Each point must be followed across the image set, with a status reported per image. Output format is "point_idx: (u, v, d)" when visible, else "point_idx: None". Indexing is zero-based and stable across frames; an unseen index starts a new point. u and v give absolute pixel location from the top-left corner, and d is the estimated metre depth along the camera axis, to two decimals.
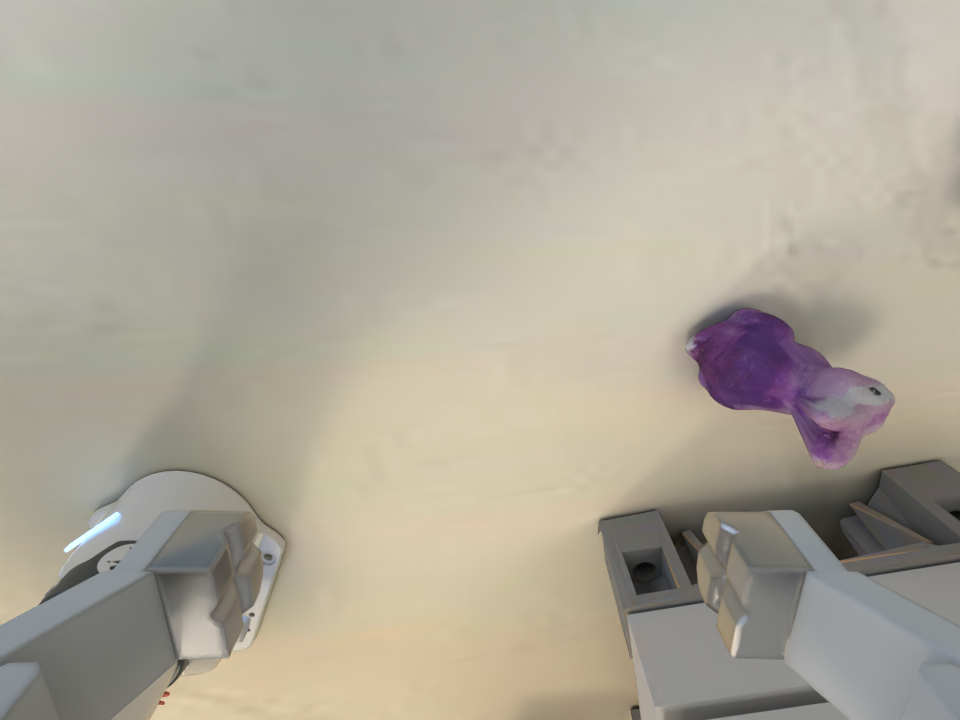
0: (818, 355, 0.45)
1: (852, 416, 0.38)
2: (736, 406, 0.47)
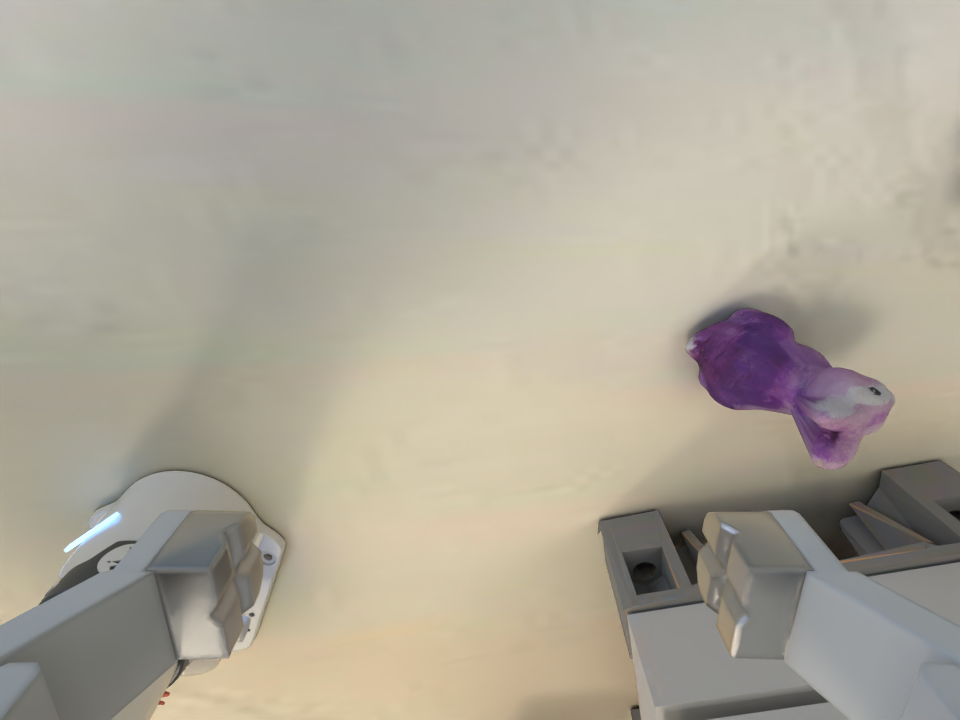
0: (818, 355, 0.45)
1: (852, 416, 0.38)
2: (736, 406, 0.47)
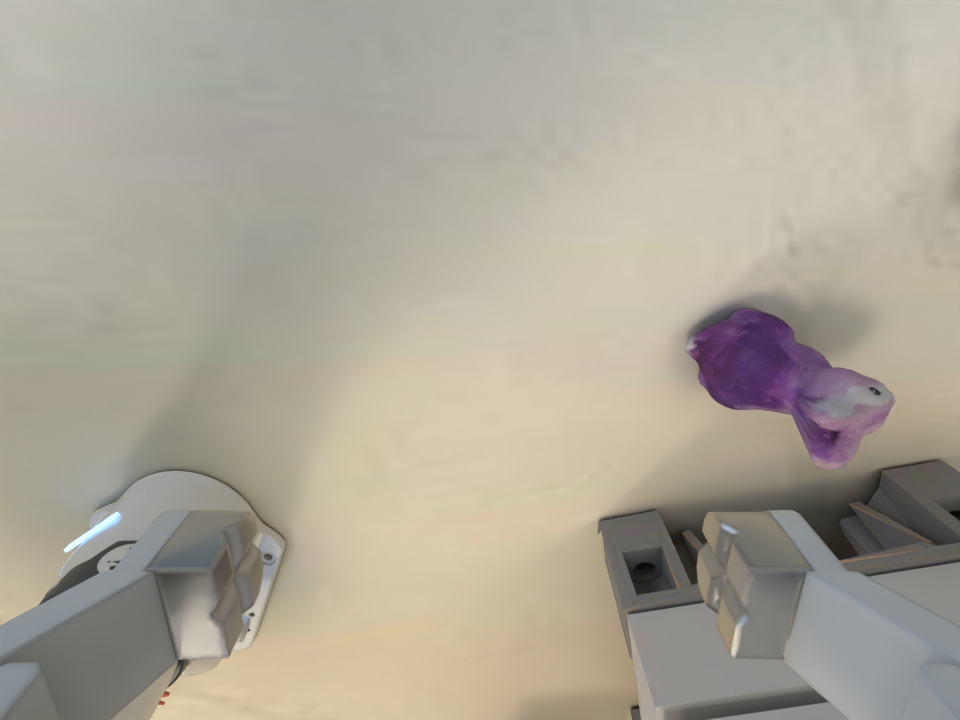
0: (818, 355, 0.45)
1: (852, 416, 0.38)
2: (736, 406, 0.47)
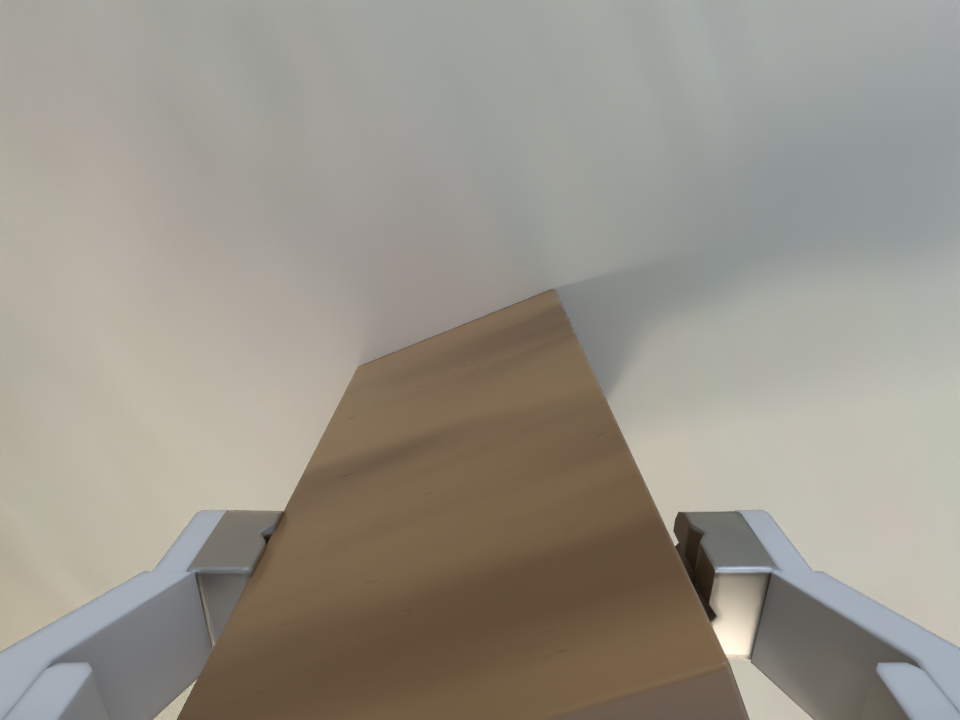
0: None
1: None
2: None
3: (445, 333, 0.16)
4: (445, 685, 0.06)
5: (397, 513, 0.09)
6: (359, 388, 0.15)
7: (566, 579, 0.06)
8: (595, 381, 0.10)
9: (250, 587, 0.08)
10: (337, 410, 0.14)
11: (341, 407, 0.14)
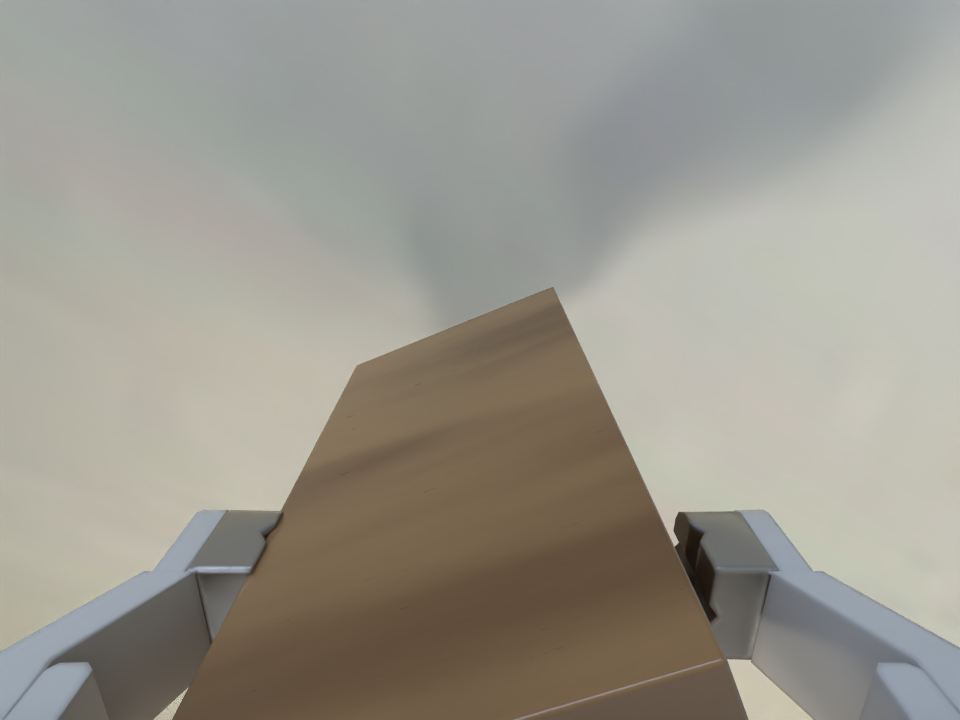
0: None
1: None
2: None
3: (444, 331, 0.16)
4: (443, 682, 0.06)
5: (395, 512, 0.09)
6: (358, 386, 0.15)
7: (563, 576, 0.06)
8: (594, 379, 0.10)
9: (247, 585, 0.08)
10: (336, 408, 0.14)
11: (339, 405, 0.14)
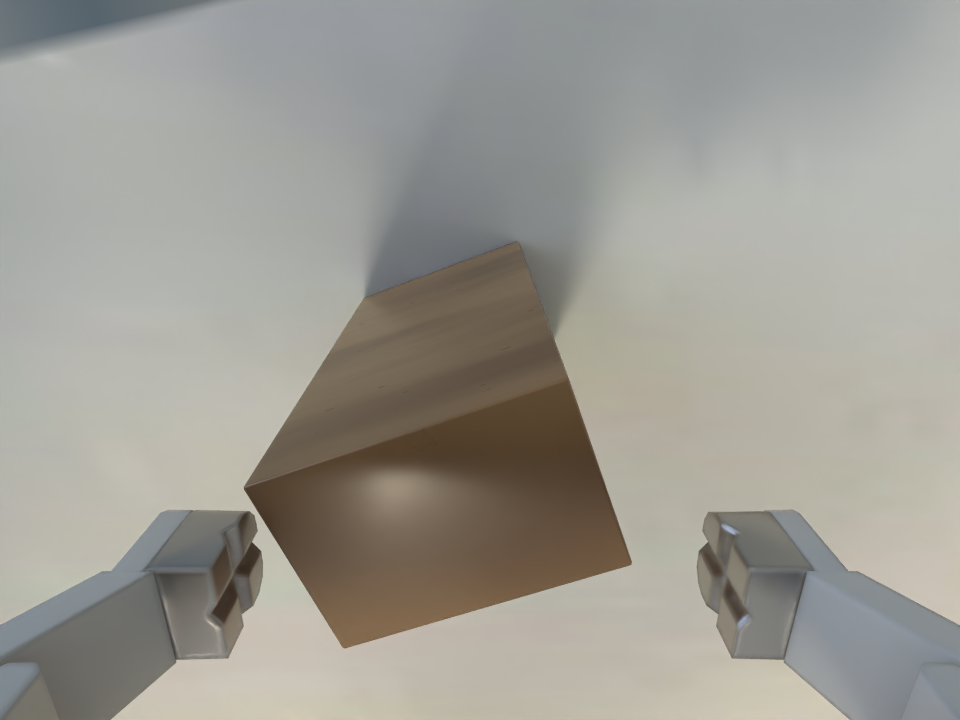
0: None
1: None
2: None
3: (433, 273, 0.21)
4: (426, 410, 0.10)
5: (398, 360, 0.13)
6: (366, 309, 0.19)
7: (496, 366, 0.11)
8: (533, 287, 0.15)
9: (301, 402, 0.13)
10: (350, 322, 0.18)
11: (352, 320, 0.19)
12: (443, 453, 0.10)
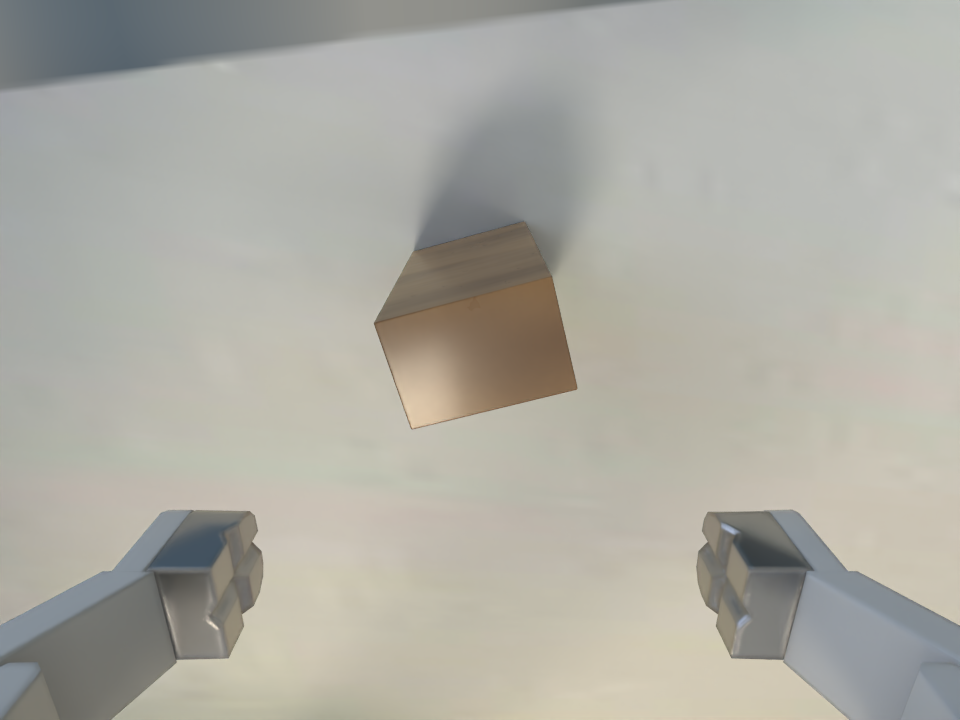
0: None
1: None
2: None
3: (464, 238, 0.29)
4: (475, 291, 0.19)
5: (451, 276, 0.22)
6: (418, 256, 0.28)
7: (513, 275, 0.20)
8: (535, 243, 0.24)
9: (391, 295, 0.22)
10: (408, 262, 0.27)
11: (409, 261, 0.27)
12: (483, 313, 0.19)
